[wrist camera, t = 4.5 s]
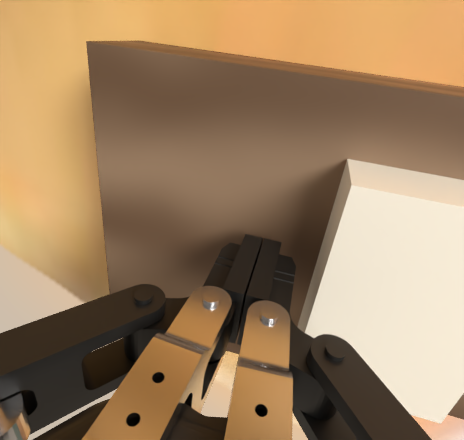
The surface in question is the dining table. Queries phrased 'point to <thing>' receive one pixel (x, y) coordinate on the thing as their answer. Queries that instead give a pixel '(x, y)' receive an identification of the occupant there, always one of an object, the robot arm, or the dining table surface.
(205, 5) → the dining table surface
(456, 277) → the tile
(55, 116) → the dining table surface
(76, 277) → the dining table surface
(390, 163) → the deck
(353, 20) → the dining table surface
